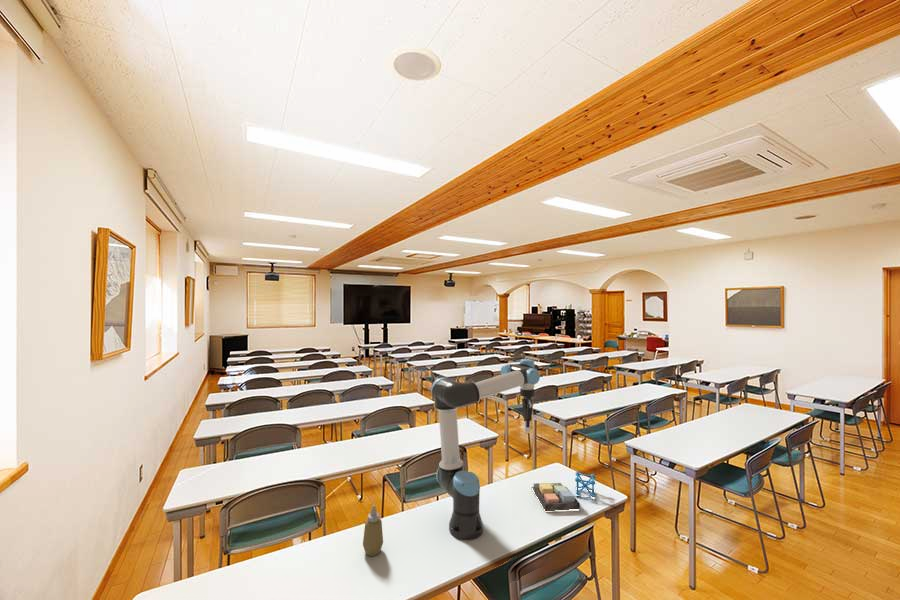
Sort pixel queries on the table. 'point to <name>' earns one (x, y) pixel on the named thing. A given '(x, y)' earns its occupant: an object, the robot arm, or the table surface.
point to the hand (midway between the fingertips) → (527, 432)
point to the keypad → (554, 506)
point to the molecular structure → (585, 485)
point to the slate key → (567, 496)
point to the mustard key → (546, 488)
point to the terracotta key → (551, 498)
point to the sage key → (559, 489)
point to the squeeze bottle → (373, 534)
